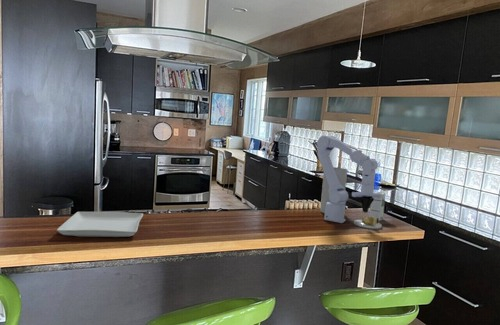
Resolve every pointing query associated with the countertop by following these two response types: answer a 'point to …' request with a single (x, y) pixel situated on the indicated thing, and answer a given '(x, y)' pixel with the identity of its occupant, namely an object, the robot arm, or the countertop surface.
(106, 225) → the square plate
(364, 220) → the gold lugged disc
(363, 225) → the cap plate
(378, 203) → the syrup box
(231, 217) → the countertop surface
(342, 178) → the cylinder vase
